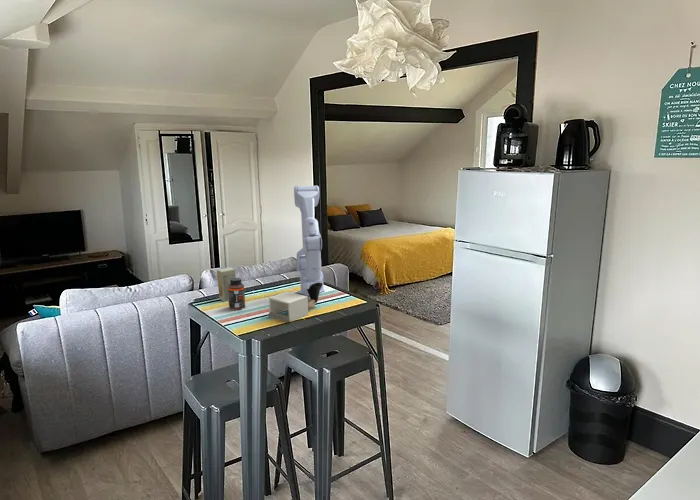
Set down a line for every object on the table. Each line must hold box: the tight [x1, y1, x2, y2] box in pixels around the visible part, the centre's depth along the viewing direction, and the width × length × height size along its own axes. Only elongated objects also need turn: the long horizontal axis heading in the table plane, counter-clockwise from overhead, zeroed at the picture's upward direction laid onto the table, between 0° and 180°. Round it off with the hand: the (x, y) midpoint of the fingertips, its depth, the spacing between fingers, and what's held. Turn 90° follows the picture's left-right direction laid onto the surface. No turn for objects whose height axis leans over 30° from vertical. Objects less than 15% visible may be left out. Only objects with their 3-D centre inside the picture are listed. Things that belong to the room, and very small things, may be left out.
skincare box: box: [216, 267, 237, 302], centre depth 191 cm, size 6×4×12 cm
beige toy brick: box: [304, 295, 316, 311], centre depth 178 cm, size 9×4×5 cm, turn 139°
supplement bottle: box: [228, 277, 246, 311], centre depth 180 cm, size 6×6×11 cm
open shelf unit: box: [268, 291, 309, 323], centre depth 172 cm, size 10×10×7 cm
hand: (314, 302), depth 183 cm, fingers closed
